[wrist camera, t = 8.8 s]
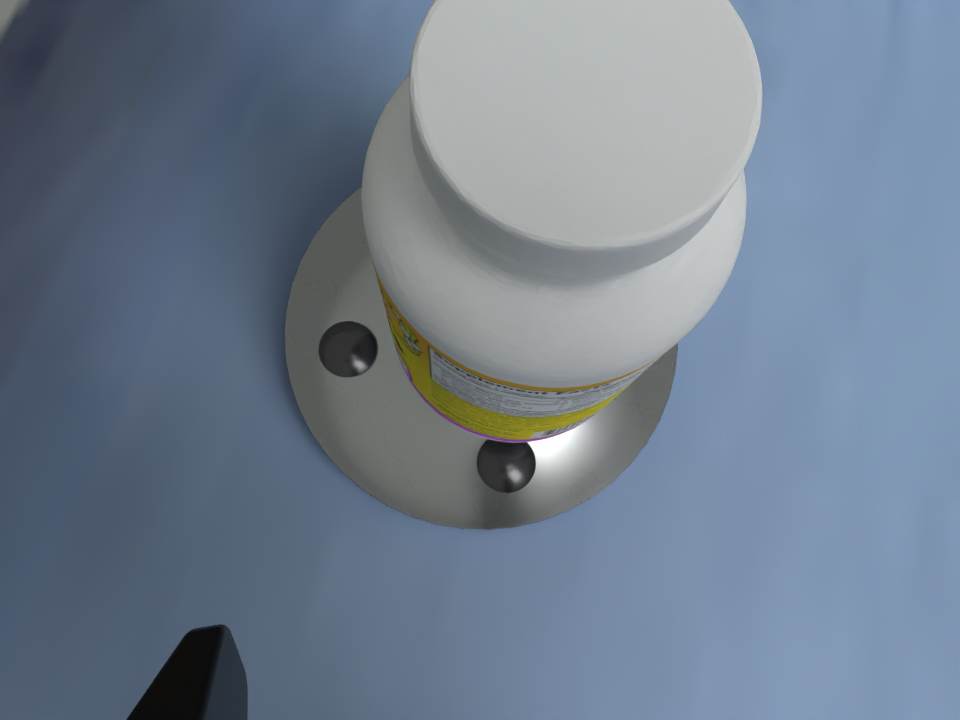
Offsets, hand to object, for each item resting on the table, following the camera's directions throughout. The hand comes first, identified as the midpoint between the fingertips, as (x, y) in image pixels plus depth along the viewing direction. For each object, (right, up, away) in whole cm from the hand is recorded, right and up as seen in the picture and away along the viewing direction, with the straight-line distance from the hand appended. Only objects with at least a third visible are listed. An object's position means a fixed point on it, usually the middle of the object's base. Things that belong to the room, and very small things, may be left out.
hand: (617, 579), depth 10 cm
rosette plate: (-2, +3, +15) cm, 15 cm away
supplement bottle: (-1, +3, +14) cm, 14 cm away
